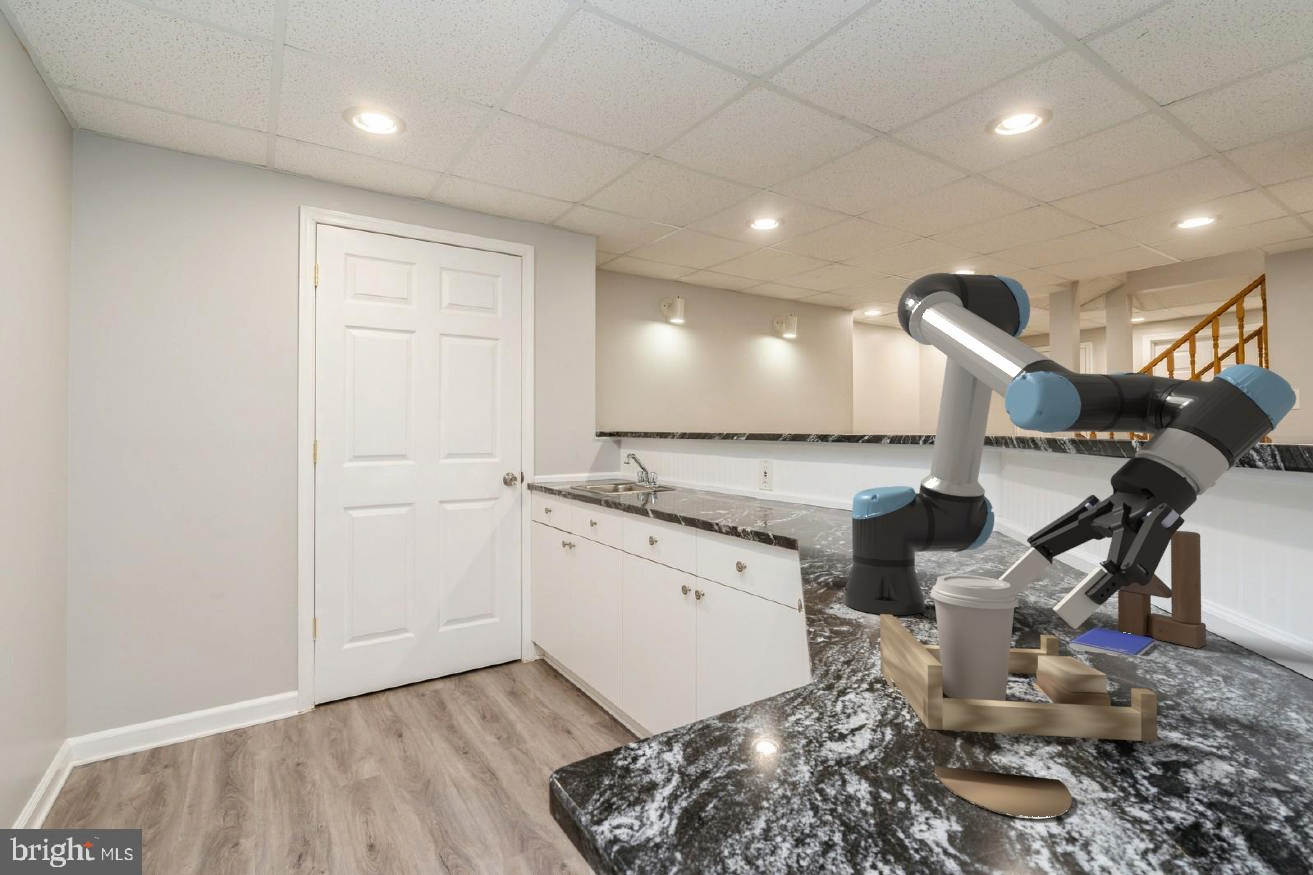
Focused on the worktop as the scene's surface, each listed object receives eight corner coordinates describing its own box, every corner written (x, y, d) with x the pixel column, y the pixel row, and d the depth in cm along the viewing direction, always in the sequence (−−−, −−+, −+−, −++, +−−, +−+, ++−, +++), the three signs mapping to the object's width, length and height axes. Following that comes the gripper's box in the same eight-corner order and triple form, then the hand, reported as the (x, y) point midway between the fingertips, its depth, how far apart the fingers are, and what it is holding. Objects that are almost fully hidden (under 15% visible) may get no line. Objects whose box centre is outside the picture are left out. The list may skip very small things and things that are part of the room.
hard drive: (1133, 654, 90) (1154, 638, 97) (1069, 640, 96) (1093, 626, 104) (1133, 664, 90) (1154, 648, 97) (1069, 650, 96) (1094, 635, 104)
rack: (927, 740, 65) (927, 665, 65) (880, 671, 85) (880, 614, 85) (1157, 753, 62) (1156, 675, 62) (1052, 679, 82) (1052, 620, 82)
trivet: (909, 770, 59) (909, 766, 59) (980, 744, 64) (980, 740, 64) (1024, 834, 49) (1024, 829, 49) (1097, 797, 54) (1097, 793, 54)
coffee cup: (928, 712, 72) (927, 584, 72) (933, 684, 80) (932, 570, 80) (1022, 730, 67) (1021, 594, 67) (1017, 698, 76) (1016, 578, 76)
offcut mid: (1060, 710, 69) (1059, 692, 69) (1036, 684, 77) (1036, 668, 77) (1110, 715, 68) (1110, 697, 68) (1081, 688, 76) (1081, 672, 76)
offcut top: (1070, 691, 69) (1070, 674, 69) (1038, 671, 76) (1037, 655, 76) (1106, 692, 69) (1106, 674, 69) (1071, 672, 76) (1071, 656, 76)
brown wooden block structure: (1126, 628, 106) (1126, 525, 106) (1206, 646, 97) (1205, 532, 97) (1117, 632, 104) (1116, 526, 104) (1197, 650, 95) (1196, 534, 95)
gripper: (1291, 509, 58) (1126, 663, 59) (1119, 492, 83) (1005, 600, 84) (1229, 454, 59) (1067, 607, 60) (1077, 453, 84) (965, 561, 85)
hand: (1031, 603), depth 72 cm, fingers open, 13 cm apart
